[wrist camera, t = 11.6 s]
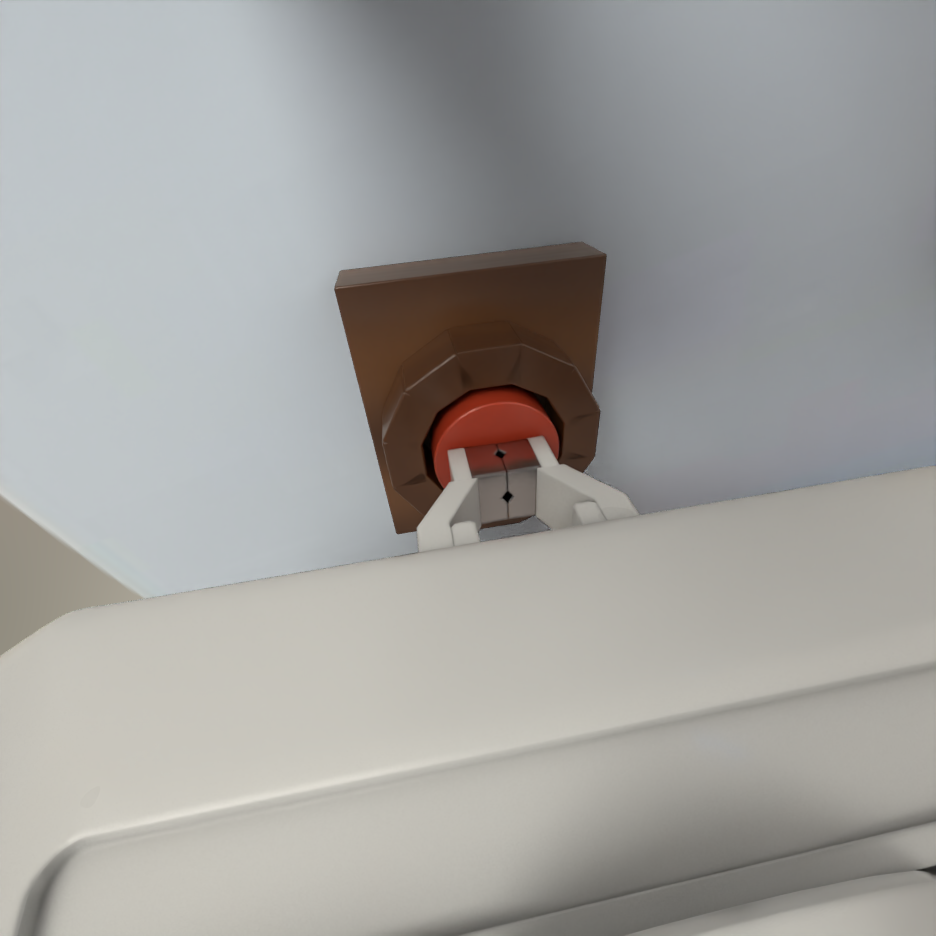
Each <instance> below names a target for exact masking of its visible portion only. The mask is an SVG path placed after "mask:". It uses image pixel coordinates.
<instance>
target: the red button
mask: <svg viewBox="0 0 936 936" xmlns="http://www.w3.org/2000/svg"><path fill="white" fill-rule="evenodd" d="M541 435H542V436H544V438H545V440H546V441H547V443H548V445H549V447H550V449H551V450H552V452H553V454H554V456H555V458H556V459H557V458H558V454H559V438H558V434H557V431H556V429H555V427H554V425H553V423H552V421H551V420H550V418H549V416H548V415H547V413H546V411H545V410H544V408H543V406H542V405H541V403H540V401H539V400H538V398H537V396H536V395H535V393H534V392H531V391H528V390H526V389H523V388H521V387H518V386H515V385H513V384H509V385H502V386H495V387H488V388H481V389H474V390H469V391H468V392H466V393H465V394H464V395H462V396H461V397H459V398H458V399H456V400H455V401H454V402H452V403H451V404H449V405H448V406H446V407H445V408H444V409H442V410H441V411H439V412H438V413H437V415H436V417H435V419H434V421H433V423H432V425H431V427H430V430H429V437H430V444H431V450H432V457H433V463H434V469H435V473H436V476H437V478H438V481H439V482H440V484H441V485H442V487H443V488H444V489H445V487H446V486H447V485H448V483H449V482H451V476H450V468H449V460H448V450H450V449H457V448H464V447H472V446H479V445H487V444H497V443H503V442H509V441H515V440H521V439H526V438H531V437H536V436H541Z"/></svg>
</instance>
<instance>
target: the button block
mask: <svg viewBox="0 0 936 936" xmlns="http://www.w3.org/2000/svg"><path fill="white" fill-rule="evenodd" d="M606 257H607V255H606V254H605V253H603V252H601V251H599V250H597V249H595V248H593V247H592V246H590V245H588V244H586V243H584V242H575V243H567V244H559V245H550V246H542V247H534V248H525V249H517V250H508V251H500V252H492V253H483V254H475V255H467V256H458V257H450V258H442V259H433V260H425V261H417V262H408V263H400V264H392V265H383V266H375V267H367V268H358V269H350V270H341V271H340V272H339V275H338V278H337V281H336V285H335V288H334V290H335V294H336V298H337V302H338V306H339V310H340V313H341V317H342V321H343V325H344V329H345V333H346V337H347V341H348V345H349V349H350V353H351V357H352V361H353V365H354V369H355V373H356V376H357V380H358V384H359V388H360V392H361V396H362V400H363V404H364V408H365V412H366V416H367V420H368V424H369V428H370V432H371V436H372V440H373V443H374V447H375V451H376V455H377V459H378V463H379V467H380V471H381V475H382V479H383V483H384V487H385V491H386V495H387V499H388V503H389V506H390V510H391V514H392V518H393V522H394V526H395V530H396V533H397V534H402V533H408V532H414V531H417V527H418V525H419V524H420V522H421V521H422V520H423V518H424V517H425V515H426V514H427V513H428V511H429V510H430V508H431V507H432V506H433V504H434V503H435V501H436V500H437V499H438V497H439V496H440V494H441V493H442V492H443V490H444V488H443V487H442V485H441V484H440V482H439V481H438V478H437V476H436V473H435V469H434V463H433V457H432V450H431V444H430V437H429V430H430V427H431V425H432V423H433V421H434V419H435V417H436V415H437V413H438V412H439V411H441V410H442V409H444V408H445V407H446V406H448V405H449V404H451V403H452V402H454V401H455V400H456V399H458V398H459V397H461V396H462V395H464V394H465V393H466V392H468V391H469V390H474V389H481V388H488V387H495V386H502V385H509V384H513V385H515V386H518V387H521V388H523V389H526V390H528V391H531V392H534V393H535V395H536V396H537V398H538V400H539V401H540V403H541V405H542V406H543V408H544V410H545V411H546V413H547V415H548V416H549V418H550V420H551V421H552V423H553V425H554V427H555V429H556V431H557V434H558V438H559V454H558V458H557V461H558V463H559V465H560V464H565V465H567V466H569V467H571V468H573V469H575V470H577V471H579V472H581V473H583V472H584V471H585V470H586V468H587V467H588V465H589V464H590V463H591V461H592V460H593V459H594V457H595V451H596V443H597V435H598V427H599V419H600V409H599V406H598V404H597V402H596V400H595V399H594V397H593V395H592V388H593V378H594V369H595V360H596V350H597V341H598V332H599V322H600V313H601V304H602V294H603V285H604V276H605V266H606ZM530 517H531V516H527V517H520V518H513V519H509V518H508V519H506V520H501V521H496V522H491V523H486V524H481V528H480V529H483V528H489V527H495V526H501V525H507V524H513V523H519V522H522V520H523V521H524V520H526V519H528V518H530Z"/></svg>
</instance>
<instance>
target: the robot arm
mask: <svg viewBox="0 0 936 936" xmlns="http://www.w3.org/2000/svg"><path fill="white" fill-rule="evenodd" d="M448 460H449V468H450V476H451V482H449V483H448V485H447V486H446V487H445V489H444V490H443V492H442V493H441V494H440V496H439V497H438V499H437V500H436V501H435V503H434V504H433V506H432V507H431V508H430V510H429V511H428V513H427V514H426V515H425V517H424V518H423V520H422V521H421V522H420V524H419V525H418V527H417V541H418V553H412V554H406V555H400V556H394V557H388V558H382V559H376V560H370V561H365V562H359V563H353V564H347V565H341V566H335V567H329V568H323V569H317V570H311V571H305V572H299V573H294V574H288V575H282V576H276V577H270V578H264V579H258V580H252V581H246V582H240V583H234V584H229V585H223V586H217V587H211V588H205V589H199V590H193V591H187V592H181V593H175V594H169V595H164V596H158V597H152V598H146V599H140V600H135V601H128V602H122V603H115V604H109V605H102V606H95V607H89V608H84V609H80V610H75V611H73V612H69V613H66V614H64V615H62V616H60V617H58V618H57V619H55V620H54V621H52V622H50V623H49V624H47V625H45V626H44V627H42V628H40V629H39V630H37V631H36V632H34V633H33V634H31V635H30V636H28V637H27V638H25V639H24V640H23V641H21V642H20V643H18V644H17V645H15V646H14V647H12V648H11V649H10V650H8V651H7V652H5V653H4V654H2V655H1V656H0V936H936V465H935V466H926V467H920V468H914V469H908V470H902V471H896V472H891V473H885V474H879V475H873V476H867V477H862V478H856V479H850V480H844V481H838V482H832V483H827V484H821V485H815V486H809V487H803V488H797V489H791V490H785V491H779V492H773V493H767V494H761V495H755V496H749V497H743V498H737V499H732V500H726V501H720V502H714V503H708V504H702V505H696V506H690V507H684V508H678V509H672V510H666V511H660V512H654V513H649V514H643V515H640V514H639V512H638V511H637V509H636V508H635V506H634V505H633V503H632V502H631V500H630V499H629V497H628V496H627V495H626V494H625V493H623V492H621V491H619V490H617V489H615V488H613V487H611V486H608V485H606V484H604V483H602V482H600V481H598V480H596V479H594V478H592V477H590V476H588V475H586V474H584V473H581V472H579V471H577V470H575V469H573V468H571V467H569V466H567V465H565V464H560V465H559V463H558V461H557V459H556V458H555V456H554V454H553V452H552V450H551V449H550V447H549V445H548V443H547V441H546V440H545V438H544V436H542V435H541V436H536V437H531V438H526V439H521V440H515V441H509V442H503V443H497V444H487V445H479V446H472V447H464V448H457V449H450V450H448ZM535 515H536V517H537V518H538V519H540V520H541V521H542V522H543V523H545V524H546V525H547V526H549V527H550V528H551V529H552V530H548V531H542V532H536V533H530V534H524V535H518V536H513V537H507V538H501V539H495V540H489V541H483V542H480V539H479V535H478V532H479V530H480V528H481V524H486V523H491V522H496V521H501V520H506V519H508V518H509V519H513V518H520V517H527V516H535Z"/></svg>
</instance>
